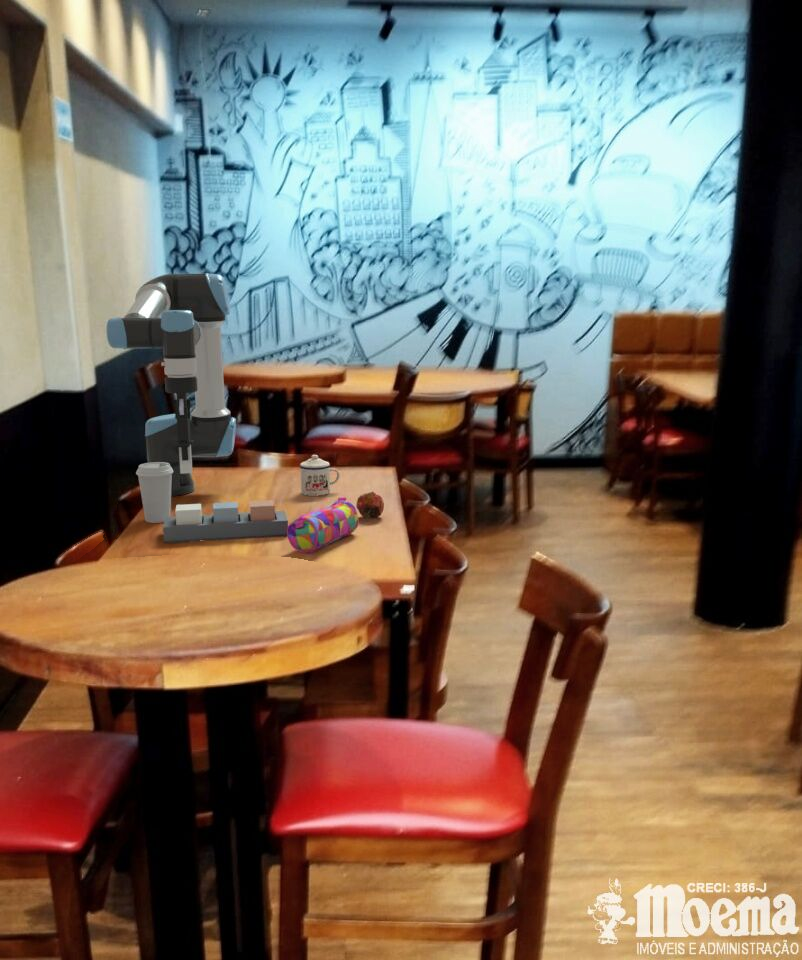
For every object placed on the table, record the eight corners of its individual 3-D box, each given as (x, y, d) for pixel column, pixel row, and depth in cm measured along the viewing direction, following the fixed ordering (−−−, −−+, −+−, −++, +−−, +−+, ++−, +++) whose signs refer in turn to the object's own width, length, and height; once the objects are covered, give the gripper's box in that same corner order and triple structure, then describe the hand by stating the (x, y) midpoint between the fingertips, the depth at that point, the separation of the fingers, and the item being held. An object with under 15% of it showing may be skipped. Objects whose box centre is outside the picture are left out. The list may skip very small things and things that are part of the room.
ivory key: (177, 522, 216) (176, 504, 215) (202, 520, 217) (201, 503, 216) (176, 528, 210) (175, 510, 209) (201, 527, 211) (200, 509, 210)
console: (166, 532, 218) (165, 517, 217) (285, 525, 224) (284, 510, 223) (164, 543, 208) (163, 527, 207) (288, 536, 214) (287, 520, 213)
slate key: (214, 520, 218) (213, 503, 217) (238, 518, 219) (237, 501, 218) (214, 526, 212) (213, 508, 211) (238, 525, 213) (237, 507, 212)
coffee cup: (166, 525, 224) (162, 469, 221) (132, 523, 226) (128, 467, 223) (182, 516, 233) (179, 462, 230) (150, 514, 235) (146, 460, 232)
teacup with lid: (303, 497, 254) (302, 459, 251) (298, 490, 262) (297, 453, 260) (342, 495, 257) (342, 456, 254) (336, 488, 266) (336, 451, 263)
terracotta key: (250, 518, 219) (249, 501, 218) (273, 517, 220) (273, 500, 220) (250, 524, 214) (250, 506, 213) (275, 523, 215) (274, 505, 214)
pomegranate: (382, 529, 228) (392, 500, 234) (373, 512, 223) (383, 482, 229) (357, 529, 231) (367, 500, 237) (348, 512, 226) (358, 483, 232)
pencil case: (328, 529, 220) (327, 495, 218) (361, 533, 217) (360, 498, 215) (284, 552, 201) (283, 515, 199) (319, 557, 197) (319, 519, 195)
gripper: (166, 373, 212) (172, 466, 217) (162, 379, 198) (168, 479, 203) (197, 372, 214) (202, 465, 219) (195, 378, 199) (201, 477, 204)
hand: (186, 471), depth 211 cm, fingers open, 2 cm apart
